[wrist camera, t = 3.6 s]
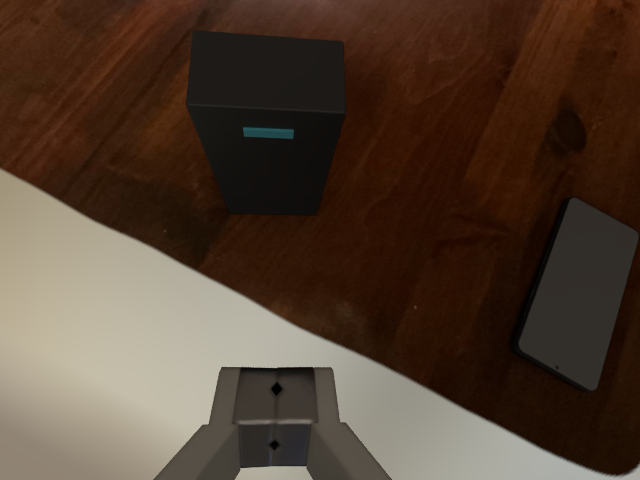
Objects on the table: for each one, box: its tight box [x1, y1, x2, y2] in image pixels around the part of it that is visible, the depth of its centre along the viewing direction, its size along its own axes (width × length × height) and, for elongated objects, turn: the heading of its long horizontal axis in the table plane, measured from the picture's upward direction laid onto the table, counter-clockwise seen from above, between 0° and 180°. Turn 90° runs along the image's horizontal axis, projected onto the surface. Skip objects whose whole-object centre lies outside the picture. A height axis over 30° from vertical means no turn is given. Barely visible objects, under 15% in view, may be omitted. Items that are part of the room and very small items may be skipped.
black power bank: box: [186, 30, 346, 215], centre depth 23 cm, size 4×7×14 cm, turn 91°
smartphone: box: [513, 197, 639, 392], centre depth 30 cm, size 7×1×15 cm
